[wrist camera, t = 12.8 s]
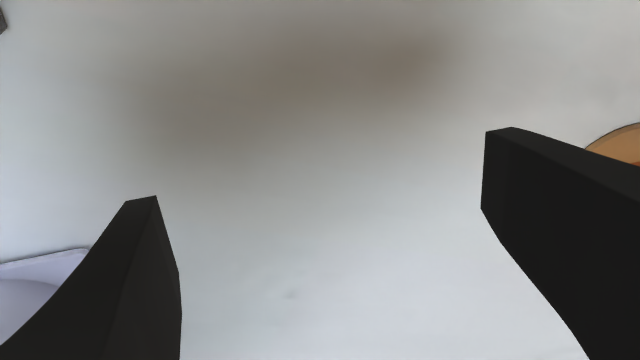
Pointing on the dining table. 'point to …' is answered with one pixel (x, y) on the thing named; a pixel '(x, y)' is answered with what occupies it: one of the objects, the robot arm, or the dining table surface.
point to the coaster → (620, 144)
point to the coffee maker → (2, 24)
